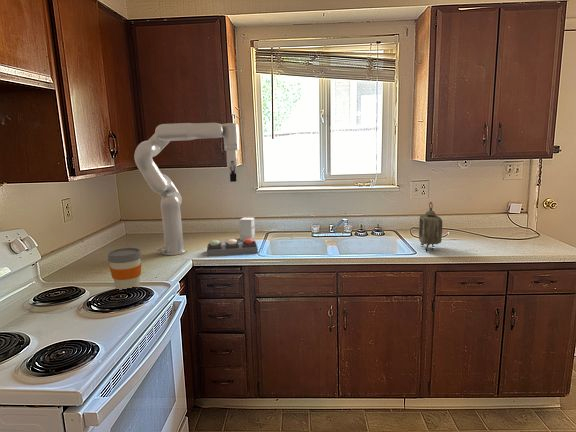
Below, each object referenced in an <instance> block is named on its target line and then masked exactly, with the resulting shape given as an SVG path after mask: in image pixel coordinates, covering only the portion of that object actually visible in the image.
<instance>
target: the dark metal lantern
mask: <svg viewBox="0 0 576 432" xmlns="http://www.w3.org/2000/svg"><path fill="white" fill-rule="evenodd" d="M433 207H434V205H433V202H432V201H429V204H428V208H429V210H427V211H426V212H425V213H424V214H420V215H419V222H418V223H419V224H418V239H419V242H420V246H421V245H426V248H424V250H427V251H428V248H429V246H430V245H431V248H432V247H435V246H434V245H439V244H441V243H442V237H443V220H442V218H441V217H440V216H438V215H437V214H436V212H435V211H434V210H433Z"/></svg>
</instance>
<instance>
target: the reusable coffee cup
mask: <svg viewBox="0 0 576 432" xmlns="http://www.w3.org/2000/svg"><path fill="white" fill-rule="evenodd" d="M107 254H108V255H107V258H108V259H107V261H108V262H109V265H110V266H109V270H110V274H111V278H112V280H113V282H114V286H115V290H116V289H119V290H122V289H127V288H132V287H138V286H139V287H140V281H141V280H140V278H141V275H142V262H141V258H142V253H141V249H139V248H137V247H125V248H124V247H123V248H117V249H114V250H110V251H109V252H108V253H107ZM139 287H138V288H139Z"/></svg>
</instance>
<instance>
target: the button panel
mask: <svg viewBox="0 0 576 432" xmlns="http://www.w3.org/2000/svg"><path fill="white" fill-rule="evenodd" d="M241 241H242V240H241ZM219 244H220V245H219V246H210V242H208V243H207V246H206V256H207V257H214V256H215V257H216V256H217V257H218V256H228V255H229V256H233V255H247V254H250V255H251V254H259V252H258V251H259V250H258V248H259V247H258V245H257V242H256V240H254V243H253V244H245V243H244V241H242V242H241V243H239V241H237V244H236V245H227V241H226V242H225V244H222V242H219Z"/></svg>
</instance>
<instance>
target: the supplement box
mask: <svg viewBox="0 0 576 432" xmlns="http://www.w3.org/2000/svg"><path fill="white" fill-rule="evenodd" d="M238 222H239V241H244V239H247V238H253V239H254V240H255V238H256V227H255V217H242V218H240V219H239V221H238Z"/></svg>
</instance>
